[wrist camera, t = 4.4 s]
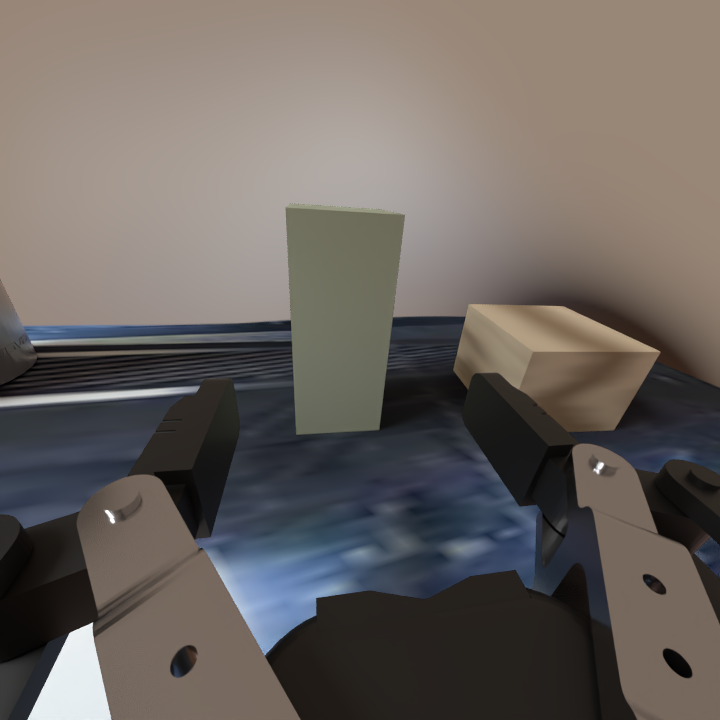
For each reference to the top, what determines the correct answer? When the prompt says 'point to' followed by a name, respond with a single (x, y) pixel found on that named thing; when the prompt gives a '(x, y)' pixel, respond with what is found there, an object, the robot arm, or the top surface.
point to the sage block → (341, 313)
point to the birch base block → (556, 361)
